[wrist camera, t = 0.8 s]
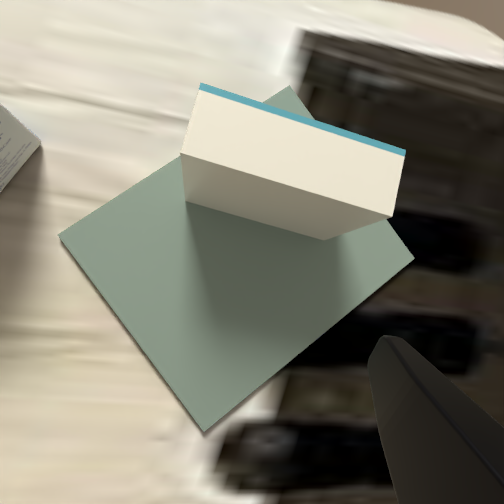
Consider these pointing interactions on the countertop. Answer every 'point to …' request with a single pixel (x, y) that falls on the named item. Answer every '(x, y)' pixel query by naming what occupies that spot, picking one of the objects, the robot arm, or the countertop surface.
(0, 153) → the medicine box
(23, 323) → the countertop surface
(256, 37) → the countertop surface
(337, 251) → the mat
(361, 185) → the white box
